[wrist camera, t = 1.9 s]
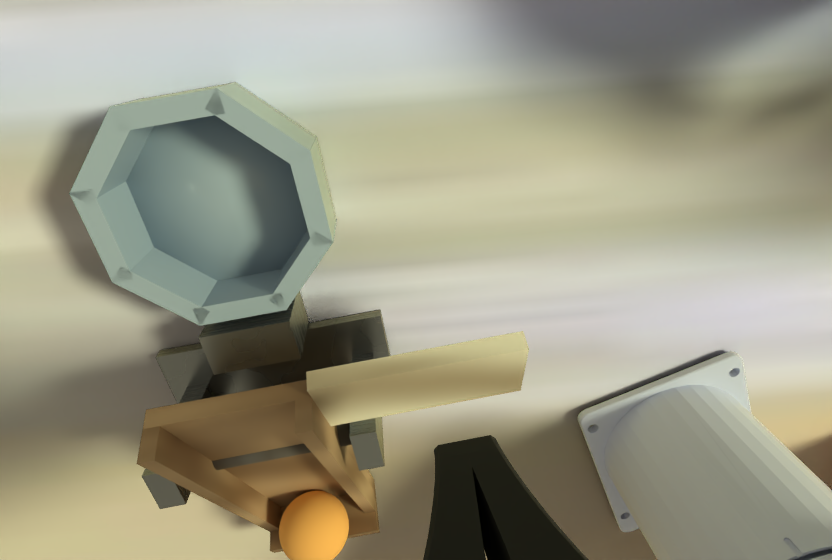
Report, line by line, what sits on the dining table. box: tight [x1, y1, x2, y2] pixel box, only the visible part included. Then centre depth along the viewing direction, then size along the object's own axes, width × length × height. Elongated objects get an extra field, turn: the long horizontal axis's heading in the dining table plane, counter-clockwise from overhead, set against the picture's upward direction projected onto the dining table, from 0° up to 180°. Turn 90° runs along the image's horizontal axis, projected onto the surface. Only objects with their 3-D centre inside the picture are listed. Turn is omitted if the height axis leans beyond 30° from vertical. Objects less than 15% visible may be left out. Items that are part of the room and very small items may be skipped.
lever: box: [137, 331, 529, 553], centre depth 19 cm, size 12×12×3 cm
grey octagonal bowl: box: [69, 82, 337, 326], centre depth 17 cm, size 7×7×2 cm
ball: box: [279, 491, 349, 560], centre depth 22 cm, size 3×3×3 cm
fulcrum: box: [142, 291, 390, 509], centre depth 19 cm, size 7×9×5 cm
